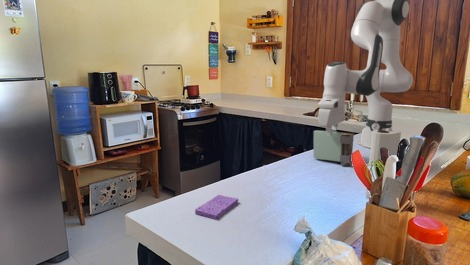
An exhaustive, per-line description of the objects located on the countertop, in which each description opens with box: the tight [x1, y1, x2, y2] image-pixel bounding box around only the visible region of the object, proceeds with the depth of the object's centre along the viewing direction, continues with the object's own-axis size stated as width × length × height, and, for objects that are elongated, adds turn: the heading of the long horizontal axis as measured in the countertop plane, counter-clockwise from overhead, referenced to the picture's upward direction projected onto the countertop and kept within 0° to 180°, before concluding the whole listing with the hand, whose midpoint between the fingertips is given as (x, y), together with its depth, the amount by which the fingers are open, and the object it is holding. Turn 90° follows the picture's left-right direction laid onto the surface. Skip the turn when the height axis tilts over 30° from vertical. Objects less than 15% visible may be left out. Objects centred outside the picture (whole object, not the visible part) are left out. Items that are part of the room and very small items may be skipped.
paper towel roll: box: [365, 130, 402, 199], centre depth 96 cm, size 7×6×21 cm
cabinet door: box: [313, 130, 354, 164], centre depth 133 cm, size 4×16×12 cm, turn 52°
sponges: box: [194, 194, 239, 220], centre depth 91 cm, size 7×13×2 cm, turn 151°
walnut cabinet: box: [330, 132, 355, 168], centre depth 137 cm, size 14×16×13 cm
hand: (331, 134), depth 132 cm, fingers open, 4 cm apart
